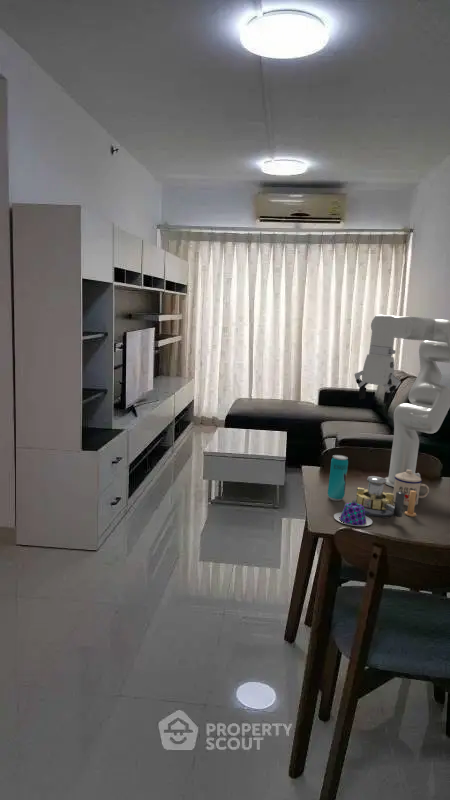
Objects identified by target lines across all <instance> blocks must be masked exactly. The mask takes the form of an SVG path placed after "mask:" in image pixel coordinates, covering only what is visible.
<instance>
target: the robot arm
mask: <svg viewBox="0 0 450 800" xmlns="http://www.w3.org/2000/svg"><path fill="white" fill-rule="evenodd" d="M370 328H371V329H370V330H371V336H370V343H369V351H368V354H367V355H366V356H365V360H364V364H363V369H362V370H361V371H358V372H355V373H354V379H355V382H356V383H357V387H358V388H359V391H358V399H359V400H364V399H366V394H367V385H369V384H370V385H376V386H381V387H384V389H385V391H384V394H383V395H384V396H383V401H382V402H383V403H382V404H383V405H389V404H391V401H392V396H393V395H392V394H393V393H394V391H396V390H397V389H398V387H399V386H400V385H401V382H402V381H401V380H400V379H399V378H398V377H396V376H395V357H393V355H395V354H396V350H394V341H395V339H402V340H403V339H404V340H408V341H421V343H419V348H418V356H419V358H418V359H419V367H420V369H419V373H418V374H417V376H416V379H415V380H414V382H413V385H412V386H411V388H410V390H409V392H408V396H407V398H408V400H409V403H408V402H404V403H400V404H398V405H397V406H396V407H395V409H394V412H393V428H394V429H393V439H392V447H391V453H390V454H391V455H390V462H389V463H390V464H389V470H388V476H386V477H384V479H386V483H385V484H384V485H387V486H389V487H392V488H394V484H395V475H396V474H399V473H403V472H406V470H408V469H409V470H412V473H414V474H415V475H416V476H418V477H420V478H421V474H420V473H419V472H417V473H416V468H417V462H418V461H417V460H418V453H419V448H420V439H419V435H418V433H417V432H421V433H426V434H434V433H437V432H438V431H439V430H440V428H441V426H442V424H443V422H444V420H445V418H446V416H447V415H448V411H449V410H450V386H447V385H445V384H440V383H441V380H442V376H443V375H442V373H441V370H440V367H439V366H438V364H437V362H439V363H445V364H450V319H442V318H431V317H423V316H412V315H410V316H409V315H408V316H407V315H406V316H405V315H403V316H400V315H389V314H376V315H375V316H374V317H373V318H372V320H371V322H370Z"/></svg>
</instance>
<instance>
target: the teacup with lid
mask: <svg viewBox="0 0 450 800" xmlns="http://www.w3.org/2000/svg"><path fill="white" fill-rule="evenodd" d="M421 487H423V488H424V487H425V489H426V492H425V493H424V494H422V495H420V490H421ZM411 490H413V491H416V499H415V506H417V505H418V504H419V499H424V498H426V497H427V496H428V495H429V492H430V488H429V486H428V485H427V484H425V483H422V477H421V476H420V477H418V476H416V475H415V474H414V473H412V470H409V469H408V470H406V472H403V473H399V474H396V475H395V484H394V487H393V492H392V494H394V497H393V498H394V500H393V503H395V499H396V492H404V493H405V497H404V505H403V506H407V507H408V503H409V496H410V491H411Z"/></svg>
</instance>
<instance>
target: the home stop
mask: <svg viewBox="0 0 450 800" xmlns="http://www.w3.org/2000/svg"><path fill="white" fill-rule="evenodd" d="M415 499H416V491H413V490H411V491H410V496H409V503H408V506H407V510H406V511H404V515H405V516H407V517H416V516H417V513H416V512H415V507H416V505H415Z"/></svg>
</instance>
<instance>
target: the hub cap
mask: <svg viewBox="0 0 450 800" xmlns="http://www.w3.org/2000/svg"><path fill="white" fill-rule="evenodd" d="M366 480H367V481H368V487H367V489H368V494H367V497H370V498H371V494H376V499H382V495H383V492H384V487H385V485H386V484H385V483H386V479H385V477H380V476H375V475H371V476H367V479H366ZM351 503H356V498H354V499H352V501H351ZM393 506H395V504H393ZM363 507H364V506H363ZM364 509H365V516H367V517H369V518H378V519H380V518H381V519H387V518H392V517H395V516H394V515H393V514H394V513H393V512H391V511H389V510H387V509H384V510H382V509H380V510H379V509H372V508H367V507H364Z"/></svg>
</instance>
